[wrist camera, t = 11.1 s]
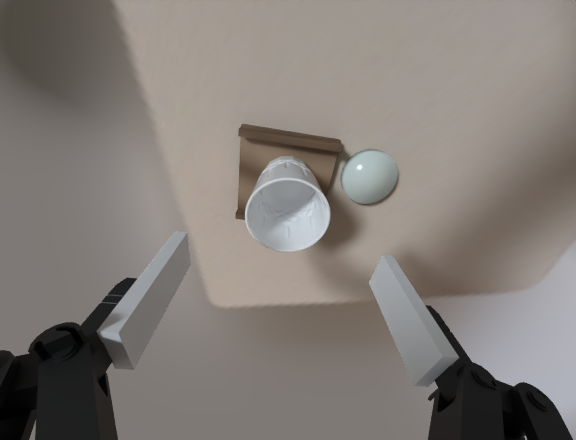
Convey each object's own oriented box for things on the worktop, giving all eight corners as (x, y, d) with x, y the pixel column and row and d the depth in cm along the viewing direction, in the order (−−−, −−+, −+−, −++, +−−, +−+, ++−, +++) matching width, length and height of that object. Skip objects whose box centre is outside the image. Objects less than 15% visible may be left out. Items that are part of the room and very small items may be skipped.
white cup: (301, 139, 26) (310, 161, 17) (325, 193, 29) (342, 234, 21) (245, 167, 28) (227, 201, 19) (274, 215, 31) (270, 262, 23)
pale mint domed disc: (348, 144, 28) (352, 148, 26) (399, 153, 28) (407, 156, 27) (334, 194, 31) (337, 200, 29) (380, 200, 32) (385, 206, 30)
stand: (242, 123, 26) (238, 126, 24) (338, 139, 27) (344, 143, 25) (239, 210, 32) (235, 219, 30) (317, 220, 33) (320, 230, 31)
